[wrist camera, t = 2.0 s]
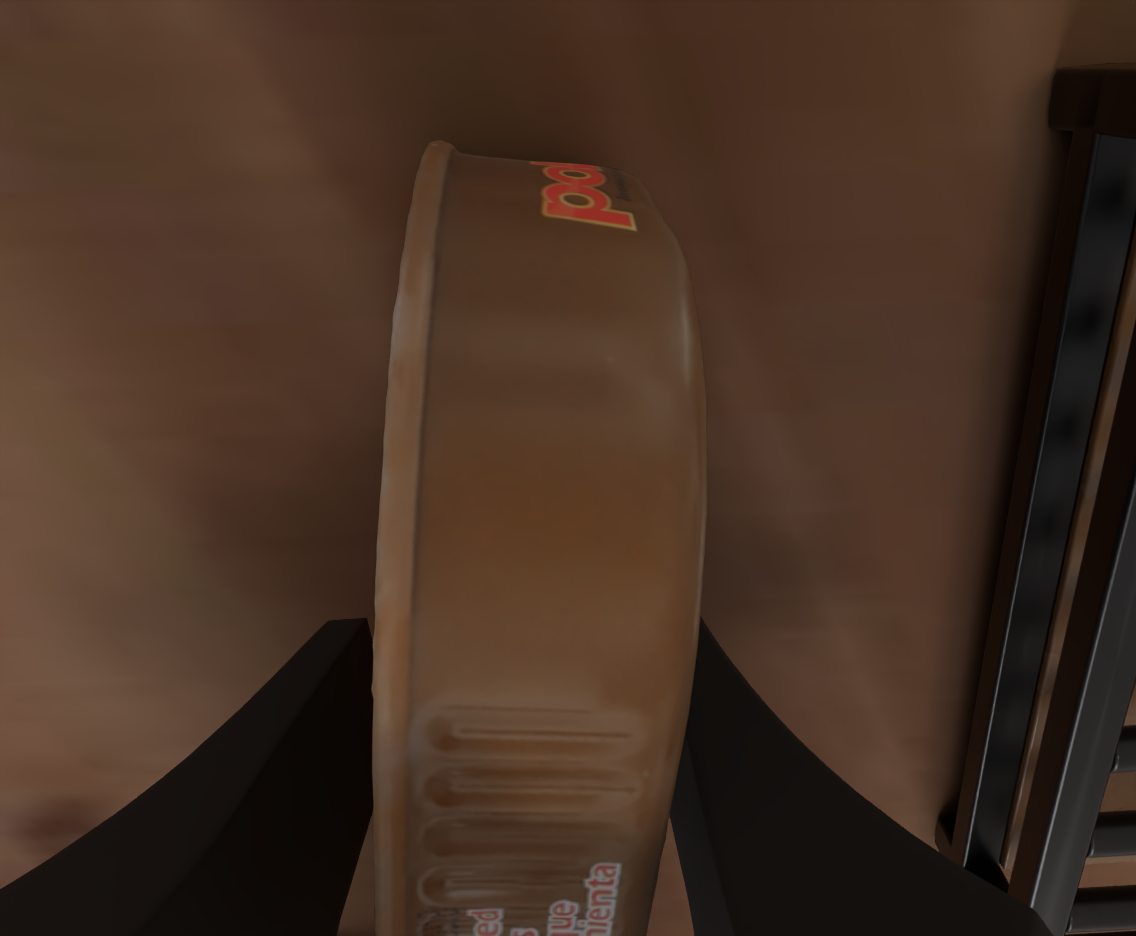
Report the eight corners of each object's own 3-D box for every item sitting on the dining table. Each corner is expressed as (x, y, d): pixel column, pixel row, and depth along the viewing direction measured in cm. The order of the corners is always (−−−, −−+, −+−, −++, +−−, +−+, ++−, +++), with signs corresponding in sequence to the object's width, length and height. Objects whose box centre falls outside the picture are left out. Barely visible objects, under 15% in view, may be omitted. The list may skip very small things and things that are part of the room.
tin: (451, 115, 12) (243, 200, 4) (664, 137, 12) (828, 259, 4) (430, 830, 18) (334, 1355, 11) (568, 838, 19) (567, 1366, 11)
